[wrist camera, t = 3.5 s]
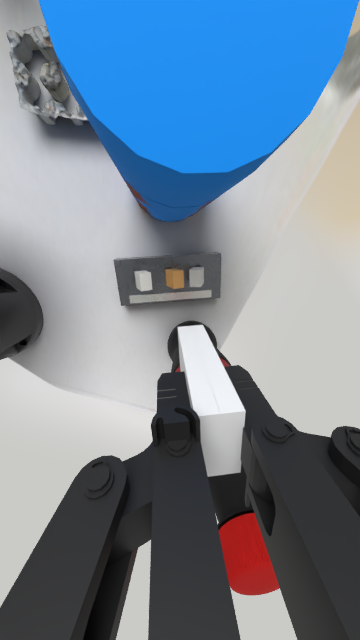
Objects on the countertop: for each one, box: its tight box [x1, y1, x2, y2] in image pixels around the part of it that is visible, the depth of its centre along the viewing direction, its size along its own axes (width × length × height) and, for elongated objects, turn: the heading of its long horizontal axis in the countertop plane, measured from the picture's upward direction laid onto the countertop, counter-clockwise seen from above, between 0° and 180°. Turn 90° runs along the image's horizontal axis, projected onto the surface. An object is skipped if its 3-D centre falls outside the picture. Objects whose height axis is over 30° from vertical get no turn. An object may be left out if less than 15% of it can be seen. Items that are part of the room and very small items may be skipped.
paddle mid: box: [165, 268, 184, 289], centre depth 30 cm, size 2×2×3 cm
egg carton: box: [6, 25, 88, 125], centre depth 24 cm, size 11×8×4 cm
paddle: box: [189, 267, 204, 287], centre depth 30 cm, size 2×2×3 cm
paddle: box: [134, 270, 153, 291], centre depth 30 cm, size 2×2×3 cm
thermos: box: [39, 0, 359, 222], centre depth 18 cm, size 11×11×25 cm
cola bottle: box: [168, 321, 280, 595], centre depth 25 cm, size 8×8×30 cm
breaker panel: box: [114, 252, 221, 306], centre depth 33 cm, size 16×7×3 cm, turn 93°
